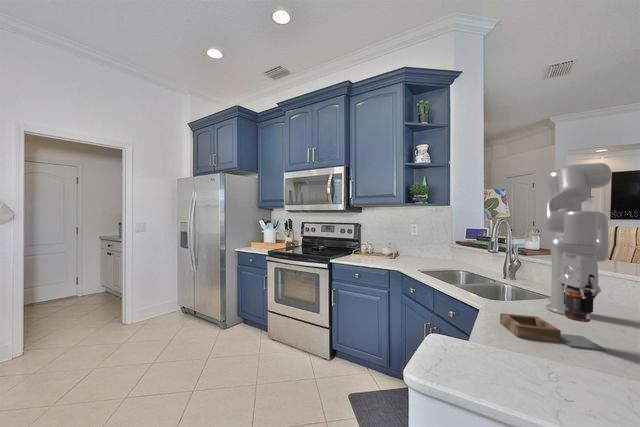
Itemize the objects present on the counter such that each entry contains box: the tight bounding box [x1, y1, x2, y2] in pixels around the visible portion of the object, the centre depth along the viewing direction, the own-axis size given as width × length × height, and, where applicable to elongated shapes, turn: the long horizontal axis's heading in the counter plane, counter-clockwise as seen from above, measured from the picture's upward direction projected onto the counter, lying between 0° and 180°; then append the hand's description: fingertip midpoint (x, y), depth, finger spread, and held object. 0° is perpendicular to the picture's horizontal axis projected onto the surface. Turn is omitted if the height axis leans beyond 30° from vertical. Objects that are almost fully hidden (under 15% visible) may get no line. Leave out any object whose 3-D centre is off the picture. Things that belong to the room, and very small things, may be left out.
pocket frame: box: [499, 312, 562, 343], centre depth 92 cm, size 12×12×4 cm
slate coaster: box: [560, 333, 607, 352], centre depth 85 cm, size 9×9×1 cm
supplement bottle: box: [564, 286, 592, 323], centre depth 85 cm, size 6×6×11 cm
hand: (577, 307), depth 85 cm, fingers closed on supplement bottle, 5 cm apart
